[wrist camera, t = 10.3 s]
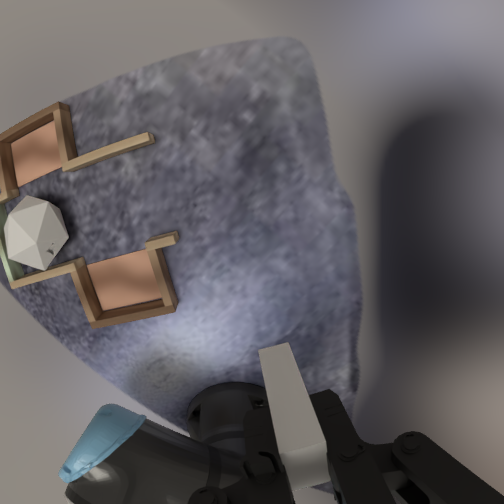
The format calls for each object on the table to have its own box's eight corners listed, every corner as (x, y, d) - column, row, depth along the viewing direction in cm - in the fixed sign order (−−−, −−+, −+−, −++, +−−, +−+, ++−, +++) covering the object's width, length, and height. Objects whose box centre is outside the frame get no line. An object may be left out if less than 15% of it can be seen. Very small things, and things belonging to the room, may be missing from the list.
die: (39, 265, 37) (45, 293, 30) (-6, 228, 31) (-13, 250, 24) (72, 218, 39) (86, 236, 32) (29, 179, 33) (30, 187, 26)
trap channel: (196, 298, 39) (194, 307, 36) (42, 330, 38) (33, 339, 36) (141, 77, 32) (135, 69, 29) (-10, 148, 31) (-22, 148, 28)
